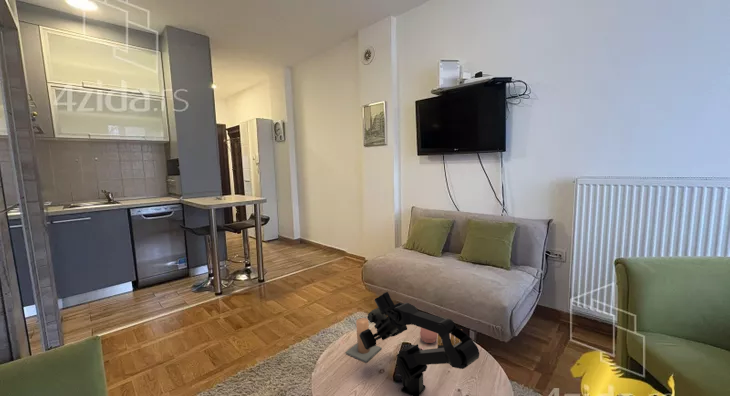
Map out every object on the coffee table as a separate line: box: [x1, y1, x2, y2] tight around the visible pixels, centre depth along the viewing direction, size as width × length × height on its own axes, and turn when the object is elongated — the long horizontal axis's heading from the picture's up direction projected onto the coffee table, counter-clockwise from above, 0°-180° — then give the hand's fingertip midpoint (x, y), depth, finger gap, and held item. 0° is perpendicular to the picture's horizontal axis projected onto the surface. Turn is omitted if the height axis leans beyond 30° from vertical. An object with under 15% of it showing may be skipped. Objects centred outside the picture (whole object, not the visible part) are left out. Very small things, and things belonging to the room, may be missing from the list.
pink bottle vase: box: [419, 327, 438, 344], centre depth 134 cm, size 8×8×12 cm
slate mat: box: [345, 343, 382, 364], centre depth 129 cm, size 11×11×1 cm
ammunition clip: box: [436, 328, 463, 348], centre depth 123 cm, size 11×2×12 cm, turn 81°
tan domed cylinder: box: [355, 317, 370, 354], centre depth 128 cm, size 5×5×13 cm
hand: (373, 340), depth 122 cm, fingers open, 9 cm apart
